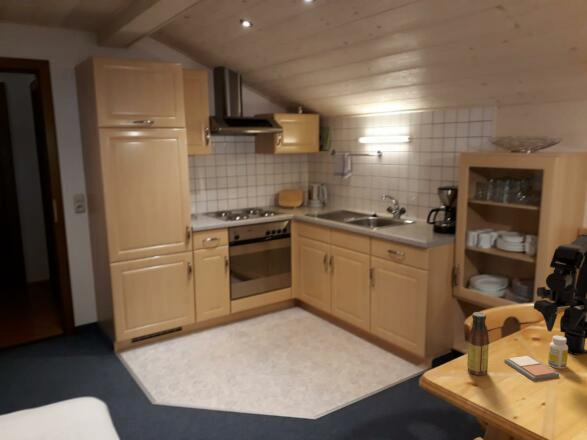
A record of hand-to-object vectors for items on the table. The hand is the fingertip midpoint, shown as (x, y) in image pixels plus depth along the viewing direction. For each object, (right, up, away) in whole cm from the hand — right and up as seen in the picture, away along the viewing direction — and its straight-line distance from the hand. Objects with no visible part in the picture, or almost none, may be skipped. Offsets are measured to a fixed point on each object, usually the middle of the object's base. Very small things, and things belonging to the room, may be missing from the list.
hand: (560, 329), depth 155 cm
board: (-10, -13, -1) cm, 17 cm away
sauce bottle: (-29, -13, -3) cm, 32 cm away
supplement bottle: (0, -13, +2) cm, 13 cm away
